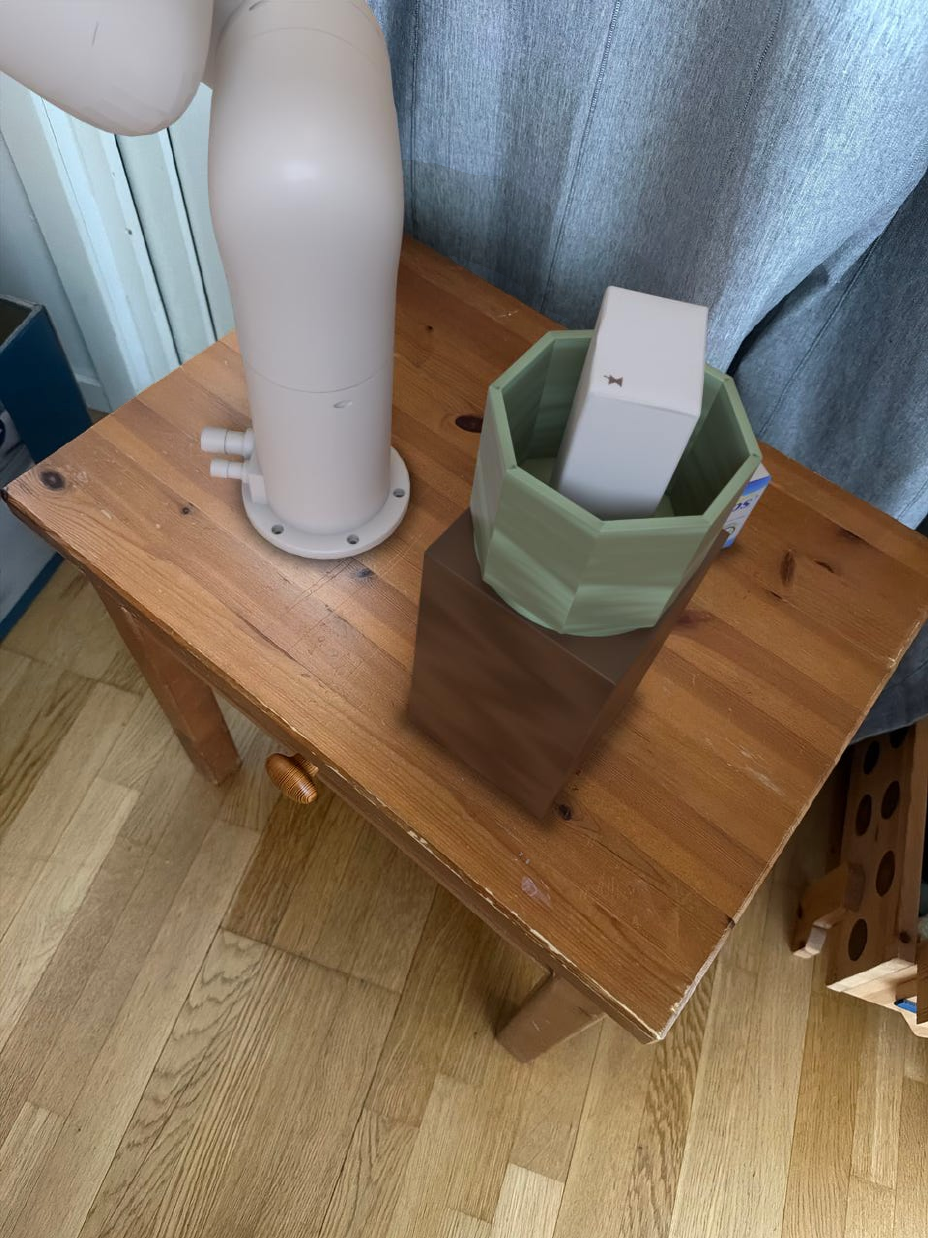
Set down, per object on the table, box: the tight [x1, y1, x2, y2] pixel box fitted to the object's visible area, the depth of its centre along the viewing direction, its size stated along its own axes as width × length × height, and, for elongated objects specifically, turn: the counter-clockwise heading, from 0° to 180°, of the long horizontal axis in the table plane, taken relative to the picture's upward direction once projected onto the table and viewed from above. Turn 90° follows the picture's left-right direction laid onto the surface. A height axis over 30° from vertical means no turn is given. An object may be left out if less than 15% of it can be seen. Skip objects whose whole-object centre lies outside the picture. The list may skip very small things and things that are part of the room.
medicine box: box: [722, 462, 772, 549], centre depth 66 cm, size 8×4×9 cm, turn 114°
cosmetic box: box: [549, 285, 709, 521], centre depth 38 cm, size 6×4×12 cm
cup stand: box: [407, 328, 763, 820], centre depth 49 cm, size 11×11×29 cm
